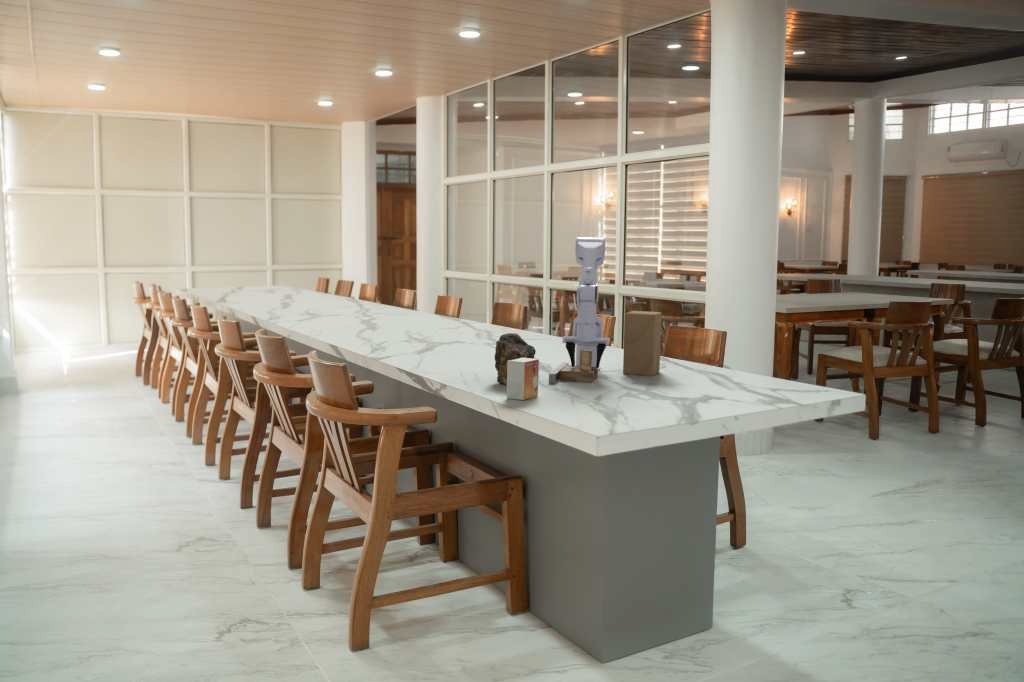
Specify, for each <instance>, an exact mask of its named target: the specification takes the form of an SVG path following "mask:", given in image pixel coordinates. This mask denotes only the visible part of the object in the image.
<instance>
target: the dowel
mask: <svg viewBox="0 0 1024 682" xmlns="http://www.w3.org/2000/svg"><path fill="white" fill-rule="evenodd" d="M591 362H592V350H580V370H589V371H591Z"/></svg>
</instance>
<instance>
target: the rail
mask: <svg viewBox="0 0 1024 682" xmlns="http://www.w3.org/2000/svg"><path fill="white" fill-rule="evenodd" d="M567 365H570V362H561V363H560V364H559V365H558V366H556V368H554V369H553V370H552V371H550V373H548V384H553V385H554V384H555V385H556V384H557V383H558V382H559V381H560V371H561V370H562V369H563V368H564V367H566V366H567Z"/></svg>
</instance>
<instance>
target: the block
mask: <svg viewBox="0 0 1024 682" xmlns="http://www.w3.org/2000/svg"><path fill="white" fill-rule="evenodd" d="M598 375H599V370H598V368H596V367H591V371H589V370H580V366H576V365H575V366H574V367H572V366H571V365H570V364H569V365H567V366H566V367H564V368H563V369H562V370H561V371H560V380H559V381H561V382H562V381H564V382H579V383H581V382H582V383H593V382H594V381H595V379H597V378H598Z"/></svg>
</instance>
